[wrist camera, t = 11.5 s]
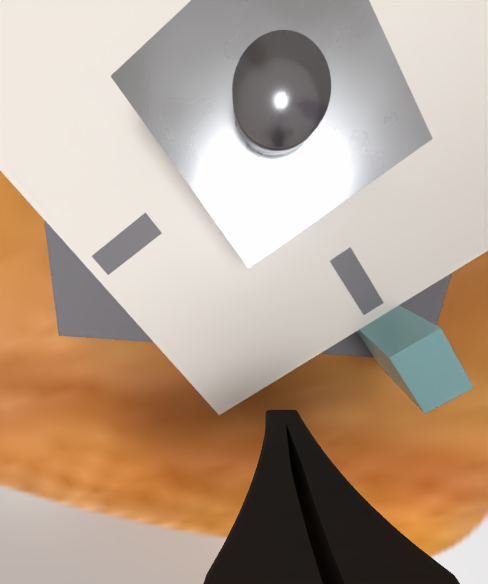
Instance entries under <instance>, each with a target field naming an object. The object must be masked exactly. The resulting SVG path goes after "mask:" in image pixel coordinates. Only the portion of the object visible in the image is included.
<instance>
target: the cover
mask: <svg viewBox="0 0 488 584" xmlns="http://www.w3.org/2000/svg"><path fill="white" fill-rule="evenodd" d="M111 78H112V79H113V81H114V82H115V83H116V85H117V86H118V87H119V89H120V90H121V92H122V93H123V94H124V96H125V97H126V99H127V100H128V101H129V103H130V104H131V106H132V107H133V108H134V110H135V111H136V112H137V114H138V115H139V117H140V118H141V119H142V121H143V122H144V124H145V125H146V126H147V128H148V129H149V131H150V132H151V133H152V135H153V136H154V138H155V139H156V140H157V142H158V143H159V144H160V146H161V147H162V149H163V150H164V151H165V153H166V154H167V156H168V157H169V158H170V160H171V161H172V163H173V164H174V165H175V167H176V168H177V169H178V171H179V172H180V174H181V175H182V176H183V178H184V179H185V181H186V182H187V183H188V185H189V186H190V188H191V189H192V190H193V192H194V193H195V194H196V196H197V197H198V199H199V200H200V201H201V203H202V204H203V206H204V207H205V208H206V210H207V211H208V213H209V214H210V215H211V217H212V218H213V220H214V221H215V222H216V224H217V225H218V226H219V228H220V229H221V231H222V232H223V233H224V235H225V236H226V238H227V239H228V240H229V242H230V243H231V245H232V246H233V247H234V249H235V250H236V251H237V253H238V254H239V256H240V257H241V258H242V260H243V261H244V263H245V264H246V265H247V267H248V268H250V267H252V266H253V265H255V264H256V263H257V262H259V261H260V260H262V259H263V258H264V257H266V256H267V255H269V254H270V253H272V252H273V251H274V250H276V249H277V248H279V247H280V246H281V245H283V244H284V243H286V242H287V241H289V240H290V239H291V238H293V237H294V236H296V235H297V234H298V233H300V232H301V231H303V230H304V229H306V228H307V227H308V226H310V225H311V224H313V223H314V222H316V221H317V220H318V219H320V218H321V217H323V216H324V215H325V214H327V213H328V212H330V211H331V210H333V209H334V208H335V207H337V206H338V205H340V204H341V203H342V202H344V201H345V200H347V199H348V198H350V197H351V196H352V195H354V194H355V193H357V192H358V191H359V190H361V189H362V188H364V187H365V186H367V185H368V184H369V183H371V182H372V181H374V180H375V179H376V178H378V177H379V176H381V175H382V174H384V173H385V172H386V171H388V170H389V169H391V168H392V167H394V166H395V165H396V164H398V163H399V162H401V161H402V160H403V159H405V158H406V157H408V156H409V155H411V154H412V153H413V152H415V151H416V150H418V149H419V148H420V147H422V146H423V145H425V144H426V143H428V142H429V141H430V140H432V139H433V138H432V136H431V134H430V132H429V129H428V127H427V125H426V123H425V121H424V119H423V116H422V114H421V112H420V110H419V108H418V106H417V103H416V101H415V99H414V97H413V95H412V92H411V90H410V88H409V86H408V84H407V82H406V79H405V77H404V75H403V73H402V71H401V69H400V66H399V64H398V62H397V60H396V58H395V55H394V53H393V51H392V49H391V47H390V45H389V42H388V40H387V38H386V36H385V34H384V32H383V29H382V27H381V25H380V23H379V21H378V19H377V16H376V14H375V12H374V10H373V8H372V5H371V3H370V1H369V0H191V1H190V2H189V3H188V4H187V5H186V6H184V7H183V8H182V9H181V10H180V11H179V12H178V13H177V14H176V15H175V16H174V17H173V18H172V19H171V20H170V21H168V22H167V23H166V24H165V25H164V26H163V27H162V28H161V29H160V30H159V31H158V32H157V33H156V34H155V35H154V36H153V37H151V38H150V39H149V40H148V41H147V42H146V43H145V44H144V45H143V46H142V47H141V48H140V49H139V50H138V51H137V52H136V53H134V54H133V55H132V56H131V57H130V58H129V59H128V60H127V61H126V62H125V63H124V64H123V65H122V66H121V67H120V68H119V69H117V70H116V71H115V72H114V73H113V74H112V75H111Z"/></svg>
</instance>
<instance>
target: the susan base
mask: <svg viewBox="0 0 488 584" xmlns="http://www.w3.org/2000/svg"><path fill="white" fill-rule="evenodd" d="M44 221H45V220H44ZM45 229H46V237H47V245H48V253H49V261H50V269H51V277H52V285H53V293H54V301H55V309H56V317H57V325H58V333H59V336H72V337H86V338H101V339H115V340H130V341H145V342H153V341H152V340H151V338H150V337H149V336H148V335H147V334H146V333H145V332H144V331H143V330H142V328H141V327H140V326H139V325H138V324H137V323H136V322H135V321H134V319H133V318H132V317H131V316H130V315H129V314H128V313H127V312H126V310H125V309H124V308H123V307H122V306H121V305H120V304H119V303H118V302H117V300H116V299H115V298H114V297H113V296H112V295H111V294H110V293H109V291H108V290H107V289H106V288H105V287H104V286H103V285H102V284H101V282H100V281H99V280H98V279H97V278H96V277H95V276H94V275H93V274H92V272H91V271H90V270H89V269H88V268H87V267H86V266H85V265H84V263H83V262H82V261H81V260H80V259H79V258H78V257H77V256H76V254H75V253H74V252H73V251H72V250H71V249H70V248H69V247H68V245H67V244H66V243H65V242H64V241H63V240H62V239H61V238H60V237H59V235H58V234H57V233H56V232H55V231H54V230H53V229H52V228H51V226H50V225H49V224H48V223H47V222H46V221H45ZM451 275H452V273H451V274H449V275H447V276H446V277H444V278H442V279H441V280H439V281H438V282H436V283H434V284H433V285H431V286H429V287H428V288H426V289H424V290H423V291H421V292H420V293H418V294H416V295H415V296H413V297H411V298H410V299H408V300H407V301H405V302H403V303H402V304H400V306H401V307H403V308H405V309H407V310H409V311H411V312H413V313H414V314H416V315H418V316H420V317H422V318H424V319H425V320H427V321H429V322H431V323H433V324H435V325H437V321H438V318H439V315H440V311H441V308H442V305H443V301H444V298H445V295H446V291H447V288H448V285H449V281H450V278H451ZM320 354H335V355H349V356H364V357H373V355H372V354H371V352H370V351H369V349H368V348H367V346H366V345H365V343H364V341H363V340H362V338H361V337H360V335H359V334H358V332H357V331H356V332H354V333H353V334H351V335H349V336H348V337H346V338H345V339H343V340H341V341H340V342H338V343H336V344H335V345H333V346H332V347H330V348H328V349H327V350H325V351H323V352H322V353H320Z"/></svg>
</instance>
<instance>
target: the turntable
mask: <svg viewBox="0 0 488 584" xmlns="http://www.w3.org/2000/svg"><path fill="white" fill-rule="evenodd" d="M190 1H191V0H0V170H1V172H2V173H3V174H4V175H5V176H6V177H7V178H8V179H9V181H10V182H11V183H12V184H13V185H14V186H15V187H16V188H17V189H18V191H19V192H20V193H21V194H22V195H23V196H24V197H25V198H26V200H27V201H28V202H29V203H30V204H31V205H32V206H33V207H34V209H35V210H36V211H37V212H38V213H39V214H40V215H41V216H42V217H43V219H44V220H45V221H46V222H47V223H48V224H49V225H50V226H51V228H52V229H53V230H54V231H55V232H56V233H57V234H58V235H59V237H60V238H61V239H62V240H63V241H64V242H65V243H66V244H67V245H68V247H69V248H70V249H71V250H72V251H73V252H74V253H75V254H76V256H77V257H78V258H79V259H80V260H81V261H82V262H83V263H84V265H85V266H86V267H87V268H88V269H89V270H90V271H91V272H92V274H93V275H94V276H95V277H96V278H97V279H98V280H99V281H100V282H101V284H102V285H103V286H104V287H105V288H106V289H107V290H108V291H109V293H110V294H111V295H112V296H113V297H114V298H115V299H116V300H117V302H118V303H119V304H120V305H121V306H122V307H123V308H124V309H125V310H126V312H127V313H128V314H129V315H130V316H131V317H132V318H133V319H134V321H135V322H136V323H137V324H138V325H139V326H140V327H141V328H142V330H143V331H144V332H145V333H146V334H147V335H148V336H149V337H150V338H151V340H152V341H153V342H154V343H155V344H156V345H157V346H158V347H159V349H160V350H161V351H162V352H163V353H164V354H165V355H166V356H167V358H168V359H169V360H170V361H171V362H172V363H173V364H174V365H175V366H176V368H177V369H178V370H179V371H180V372H181V373H182V374H183V375H184V377H185V378H186V379H187V380H188V381H189V382H190V383H191V384H192V386H193V387H194V388H195V389H196V390H197V391H198V392H199V393H200V394H201V396H202V397H203V398H204V399H205V400H206V401H207V402H208V403H209V405H210V406H211V407H212V408H213V409H214V410H215V411H216V412H217V414H218V415H221V414H222V413H224V412H225V411H227V410H229V409H230V408H232V407H234V406H235V405H237V404H239V403H240V402H242V401H243V400H245V399H247V398H248V397H250V396H252V395H253V394H255V393H256V392H258V391H260V390H261V389H263V388H265V387H266V386H268V385H270V384H271V383H273V382H274V381H276V380H278V379H279V378H281V377H283V376H284V375H286V374H287V373H289V372H291V371H292V370H294V369H296V368H297V367H299V366H301V365H302V364H304V363H305V362H307V361H309V360H310V359H312V358H314V357H315V356H317V355H318V354H320V353H322V352H323V351H325V350H327V349H328V348H330V347H332V346H333V345H335V344H336V343H338V342H340V341H341V340H343V339H345V338H346V337H348V336H349V335H351V334H353V333H354V332H356V331H357V332H358V334H359V335H360V337H361V338H362V340H363V341H364V343H365V345H366V346H367V348H368V349H369V351H370V352H371V354H372V355H373V357H374V358H375V360H376V361H377V363H378V365H379V366H380V367H381V368H382V369H383V370H384V371H385V372H386V373H387V374H388V375H389V376H390V377H391V378H392V380H393V381H394V382H395V383H396V384H397V385H398V386H399V387H400V388H401V389H402V390H403V391H404V392H405V393H406V394H407V395H408V397H409V398H410V399H411V400H412V401H413V402H414V403H415V404H416V405H417V406H418V407H419V408H420V409H421V410H422V411H423V412H424V414H426V413H428V412H430V411H431V410H433V409H435V408H437V407H439V406H441V405H443V404H445V403H446V402H448V401H450V400H452V399H454V398H456V397H458V396H460V395H462V394H463V393H465V392H467V391H469V390H471V389H473V388H474V387H473V385H472V383H471V382H470V380H469V378H468V376H467V374H466V373H465V371H464V369H463V367H462V365H461V363H460V362H459V360H458V358H457V356H456V354H455V353H454V351H453V349H452V347H451V345H450V344H449V342H448V340H447V338H446V336H445V334H444V333H443V331H442V329H441V328H440V327H438V326H437V325H435V324H433V323H431V322H429V321H427V320H425V319H424V318H422V317H420V316H418V315H416V314H414V313H413V312H411V311H409V310H407V309H405V308H403V307H401V306H400V304H402V303H403V302H405V301H407V300H408V299H410V298H411V297H413V296H415V295H416V294H418V293H420V292H421V291H423V290H424V289H426V288H428V287H429V286H431V285H433V284H434V283H436V282H438V281H439V280H441V279H442V278H444V277H446V276H447V275H449V274H451V273H452V272H454V271H455V270H457V269H459V268H460V267H462V266H464V265H465V264H467V263H469V262H470V261H472V260H473V259H475V258H477V257H478V256H480V255H482V254H483V253H485V252H486V251H488V0H369V1H370V3H371V5H372V8H373V10H374V12H375V14H376V16H377V19H378V21H379V23H380V25H381V27H382V29H383V32H384V34H385V36H386V38H387V40H388V42H389V45H390V47H391V49H392V51H393V53H394V55H395V58H396V60H397V62H398V64H399V66H400V69H401V71H402V73H403V75H404V77H405V79H406V82H407V84H408V86H409V88H410V90H411V92H412V95H413V97H414V99H415V101H416V103H417V106H418V108H419V110H420V112H421V114H422V116H423V119H424V121H425V123H426V125H427V127H428V129H429V132H430V134H431V136H432V138H433V139H432V140H430V141H429V142H428V143H426V144H425V145H423V146H422V147H420V148H419V149H418V150H416V151H415V152H413V153H412V154H411V155H409V156H408V157H406V158H405V159H403V160H402V161H401V162H399V163H398V164H396V165H395V166H394V167H392V168H391V169H389V170H388V171H386V172H385V173H384V174H382V175H381V176H379V177H378V178H376V179H375V180H374V181H372V182H371V183H369V184H368V185H367V186H365V187H364V188H362V189H361V190H359V191H358V192H357V193H355V194H354V195H352V196H351V197H350V198H348V199H347V200H345V201H344V202H342V203H341V204H340V205H338V206H337V207H335V208H334V209H333V210H331V211H330V212H328V213H327V214H325V215H324V216H323V217H321V218H320V219H318V220H317V221H316V222H314V223H313V224H311V225H310V226H308V227H307V228H306V229H304V230H303V231H301V232H300V233H298V234H297V235H296V236H294V237H293V238H291V239H290V240H289V241H287V242H286V243H284V244H283V245H281V246H280V247H279V248H277V249H276V250H274V251H273V252H272V253H270V254H269V255H267V256H266V257H264V258H263V259H262V260H260V261H259V262H257V263H256V264H255V265H253V266H252V267H250V268H248V267H247V265H246V264H245V263H244V261H243V260H242V258H241V257H240V256H239V254H238V253H237V251H236V250H235V249H234V247H233V246H232V245H231V243H230V242H229V240H228V239H227V238H226V236H225V235H224V233H223V232H222V231H221V229H220V228H219V226H218V225H217V224H216V222H215V221H214V220H213V218H212V217H211V215H210V214H209V213H208V211H207V210H206V208H205V207H204V206H203V204H202V203H201V201H200V200H199V199H198V197H197V196H196V194H195V193H194V192H193V190H192V189H191V188H190V186H189V185H188V183H187V182H186V181H185V179H184V178H183V176H182V175H181V174H180V172H179V171H178V169H177V168H176V167H175V165H174V164H173V163H172V161H171V160H170V158H169V157H168V156H167V154H166V153H165V151H164V150H163V149H162V147H161V146H160V144H159V143H158V142H157V140H156V139H155V138H154V136H153V135H152V133H151V132H150V131H149V129H148V128H147V126H146V125H145V124H144V122H143V121H142V119H141V118H140V117H139V115H138V114H137V112H136V111H135V110H134V108H133V107H132V106H131V104H130V103H129V101H128V100H127V99H126V97H125V96H124V94H123V93H122V92H121V90H120V89H119V87H118V86H117V85H116V83H115V82H114V81H113V79H112V78H111V75H112V74H113V73H114V72H115V71H116V70H117V69H119V68H120V67H121V66H122V65H123V64H124V63H125V62H126V61H127V60H128V59H129V58H130V57H131V56H132V55H133V54H134V53H136V52H137V51H138V50H139V49H140V48H141V47H142V46H143V45H144V44H145V43H146V42H147V41H148V40H149V39H150V38H151V37H153V36H154V35H155V34H156V33H157V32H158V31H159V30H160V29H161V28H162V27H163V26H164V25H165V24H166V23H167V22H168V21H170V20H171V19H172V18H173V17H174V16H175V15H176V14H177V13H178V12H179V11H180V10H181V9H182V8H183V7H184V6H186V5H187V4H188V3H189V2H190Z"/></svg>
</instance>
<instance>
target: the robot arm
mask: <svg viewBox="0 0 488 584" xmlns="http://www.w3.org/2000/svg"><path fill="white" fill-rule="evenodd" d="M204 584H460V583H459V582H458V580H457V579H456V577H455V576H454V575H453V574H452V573H451V572H449V571H448V570H447V569H445V568H444V567H443V566H441V565H440V564H439V563H437V562H436V561H435V560H434V559H432V558H431V557H430V556H429V555H427V554H426V553H425V552H423V551H422V550H421V549H419V548H418V547H417V546H416V545H415V544H413V543H412V542H411V541H410V540H409V539H407V538H406V537H405V536H404V535H403V534H402V533H400V532H399V531H398V530H397V529H396V528H395V527H394V526H392V525H391V524H390V523H389V522H388V521H387V520H386V519H385V518H384V517H383V516H382V515H381V514H380V513H379V512H377V511H376V510H375V509H374V508H373V507H372V506H371V505H370V504H369V503H368V502H367V501H366V500H365V499H364V498H363V497H362V496H361V495H360V494H359V493H358V492H357V491H356V489H355V488H354V487H353V486H352V485H351V484H350V483H349V482H348V481H347V480H346V478H345V477H344V476H343V475H342V474H341V473H340V471H339V470H338V469H337V468H336V467H335V465H334V464H333V463H332V462H331V460H330V459H329V458H328V457H327V455H326V454H325V453H324V451H323V450H322V449H321V447H320V446H319V444H318V443H317V442H316V440H315V439H314V437H313V436H312V435H311V433H310V431H309V430H308V428H307V427H306V425H305V424H304V422H303V421H302V419H301V417H300V415H299V414H298V412H297V411H296V410H268V411H267V412H266V429H265V436H264V441H263V446H262V450H261V454H260V458H259V461H258V465H257V468H256V471H255V474H254V477H253V480H252V483H251V486H250V488H249V491H248V493H247V496H246V498H245V501H244V503H243V506H242V508H241V510H240V512H239V515H238V517H237V519H236V521H235V523H234V525H233V527H232V529H231V531H230V533H229V535H228V537H227V539H226V541H225V543H224V545H223V547H222V549H221V550H220V552H219V554H218V556H217V558H216V559H215V561H214V563H213V564H212V566H211V568H210V570H209V571H208V573H207V575H206V578H205V581H204Z"/></svg>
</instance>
